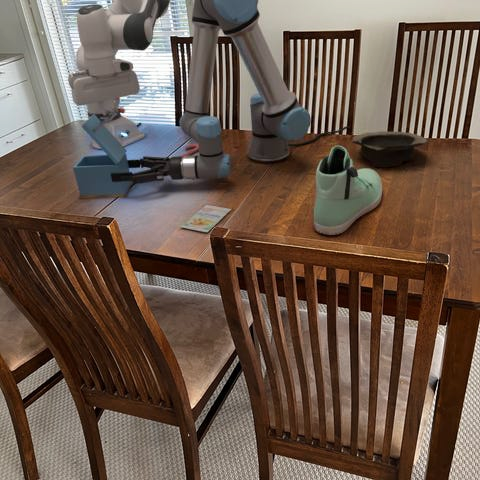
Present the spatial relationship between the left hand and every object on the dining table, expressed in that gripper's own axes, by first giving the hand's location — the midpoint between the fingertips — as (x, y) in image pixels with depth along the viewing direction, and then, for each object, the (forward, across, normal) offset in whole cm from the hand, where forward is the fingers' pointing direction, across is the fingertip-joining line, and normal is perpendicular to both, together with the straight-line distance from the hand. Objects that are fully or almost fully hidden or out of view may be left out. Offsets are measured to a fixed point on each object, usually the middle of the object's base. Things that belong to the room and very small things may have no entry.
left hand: (111, 114), depth 147 cm
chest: (+26, -5, +5) cm, 27 cm away
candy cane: (+25, +32, +15) cm, 43 cm away
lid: (+8, -3, +3) cm, 9 cm away
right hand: (+19, -1, +2) cm, 19 cm away
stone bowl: (+25, +81, -41) cm, 94 cm away
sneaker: (+26, +44, -58) cm, 77 cm away
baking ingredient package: (+26, +10, -35) cm, 45 cm away
